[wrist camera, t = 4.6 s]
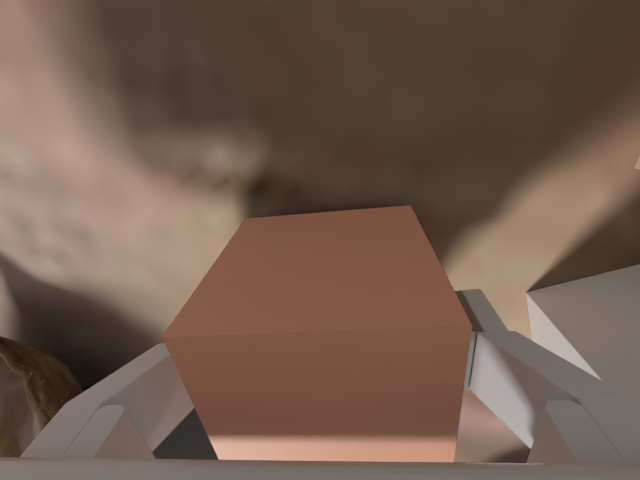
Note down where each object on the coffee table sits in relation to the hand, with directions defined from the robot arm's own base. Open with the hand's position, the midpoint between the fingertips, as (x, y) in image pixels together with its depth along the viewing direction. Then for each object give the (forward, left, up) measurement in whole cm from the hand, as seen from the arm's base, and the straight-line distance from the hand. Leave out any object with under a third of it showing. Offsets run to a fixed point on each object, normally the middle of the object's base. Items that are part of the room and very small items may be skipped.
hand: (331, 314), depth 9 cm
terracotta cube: (0, 0, -2) cm, 2 cm away
